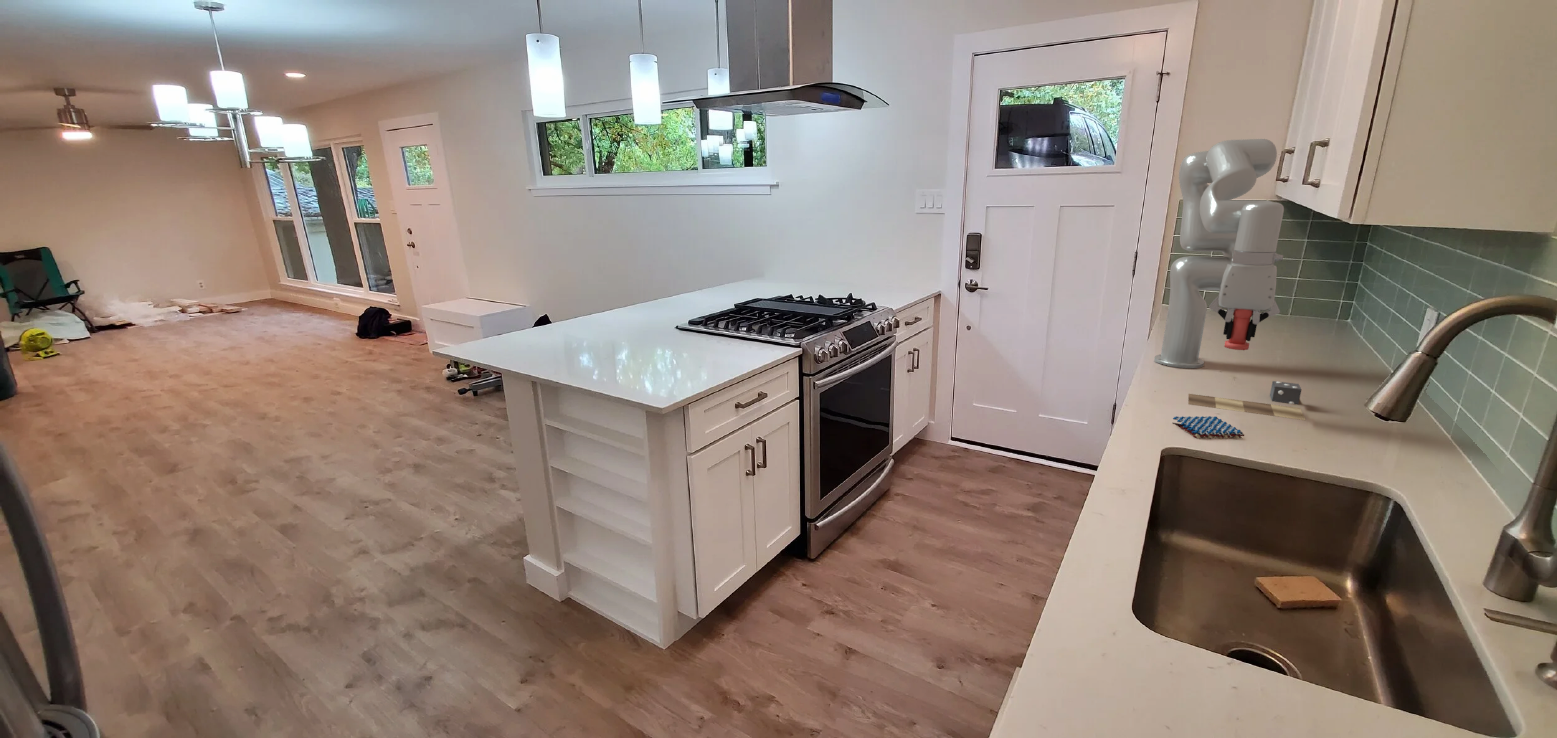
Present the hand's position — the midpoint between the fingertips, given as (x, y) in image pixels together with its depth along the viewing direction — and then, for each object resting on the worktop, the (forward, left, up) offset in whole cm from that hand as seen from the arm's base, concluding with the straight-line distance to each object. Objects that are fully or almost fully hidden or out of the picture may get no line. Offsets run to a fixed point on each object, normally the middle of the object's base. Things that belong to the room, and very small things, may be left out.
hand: (1238, 338), depth 146 cm
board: (0, +3, -17) cm, 18 cm away
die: (-10, +12, -17) cm, 23 cm away
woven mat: (+18, -4, -18) cm, 26 cm away
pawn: (0, 0, -2) cm, 2 cm away
